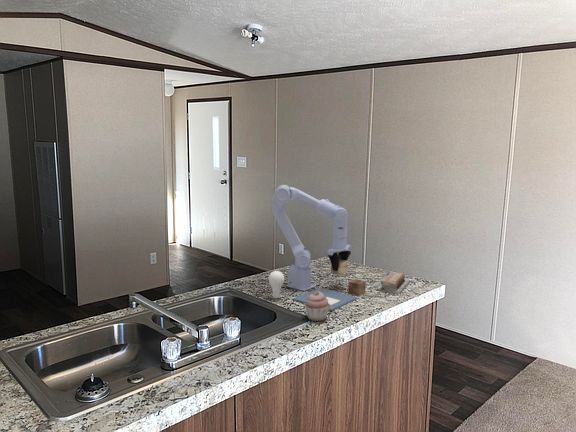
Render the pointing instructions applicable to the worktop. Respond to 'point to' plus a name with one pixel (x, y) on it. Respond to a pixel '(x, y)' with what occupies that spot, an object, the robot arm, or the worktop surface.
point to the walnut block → (356, 287)
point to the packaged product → (394, 283)
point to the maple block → (341, 267)
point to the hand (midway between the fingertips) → (338, 269)
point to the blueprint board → (329, 298)
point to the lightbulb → (276, 283)
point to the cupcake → (317, 306)
